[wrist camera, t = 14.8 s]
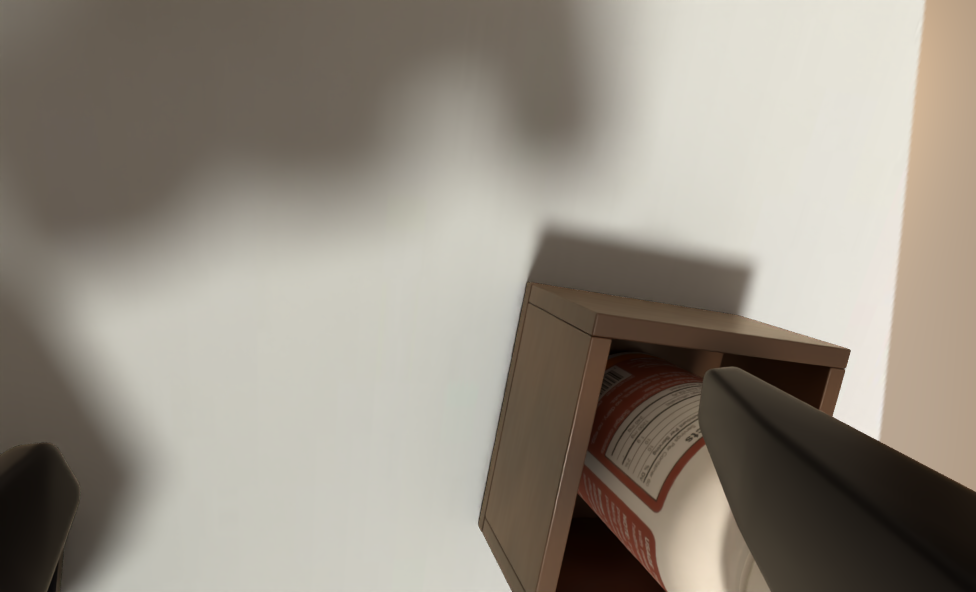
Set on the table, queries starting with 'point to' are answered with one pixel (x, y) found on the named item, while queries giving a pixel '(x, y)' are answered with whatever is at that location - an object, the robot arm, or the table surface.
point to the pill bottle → (663, 480)
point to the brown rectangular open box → (571, 411)
